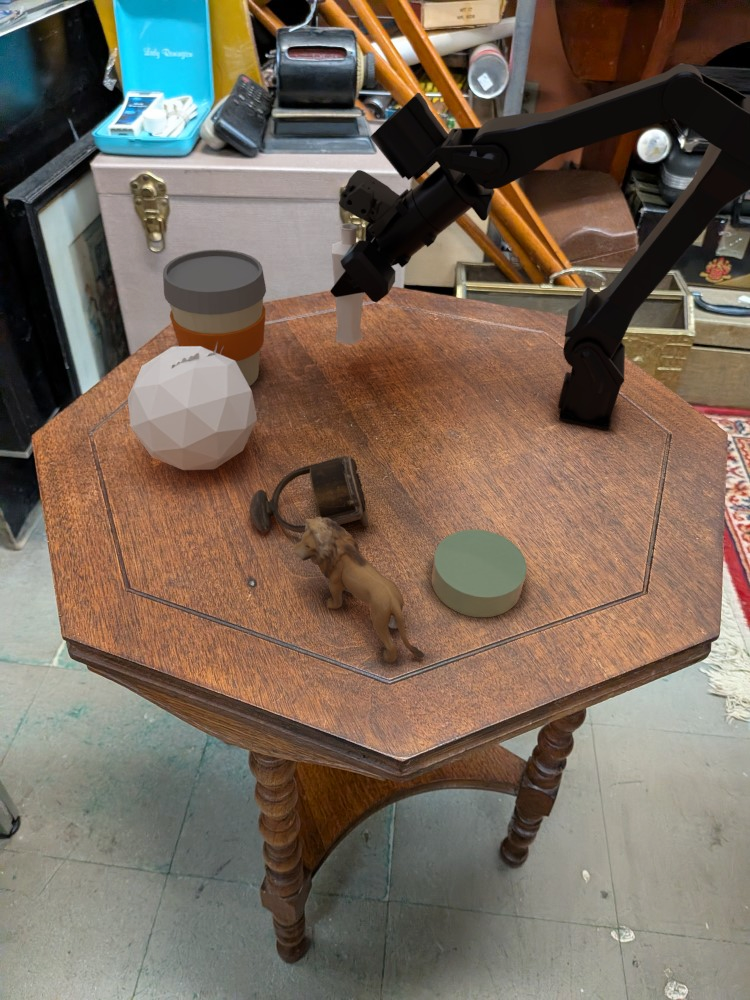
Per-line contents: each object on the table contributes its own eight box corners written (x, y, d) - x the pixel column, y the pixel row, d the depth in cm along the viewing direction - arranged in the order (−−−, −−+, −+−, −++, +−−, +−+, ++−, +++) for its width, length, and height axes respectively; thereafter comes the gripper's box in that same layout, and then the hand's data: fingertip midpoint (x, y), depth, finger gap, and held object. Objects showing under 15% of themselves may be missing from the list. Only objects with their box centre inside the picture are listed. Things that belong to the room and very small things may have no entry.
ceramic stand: (527, 561, 75) (532, 541, 73) (513, 627, 68) (519, 607, 66) (442, 541, 76) (445, 520, 74) (421, 603, 70) (424, 583, 68)
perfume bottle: (369, 332, 98) (372, 221, 88) (359, 347, 95) (361, 235, 85) (338, 326, 99) (337, 216, 89) (327, 341, 96) (324, 229, 86)
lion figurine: (288, 593, 70) (283, 526, 64) (325, 563, 73) (324, 497, 67) (406, 678, 64) (413, 613, 58) (441, 641, 67) (452, 576, 61)
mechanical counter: (363, 524, 70) (385, 447, 76) (236, 494, 71) (268, 419, 77) (358, 561, 76) (379, 487, 82) (241, 533, 77) (270, 461, 82)
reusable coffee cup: (163, 367, 100) (143, 262, 90) (243, 342, 105) (234, 241, 95) (204, 411, 92) (188, 302, 82) (289, 381, 98) (283, 276, 88)
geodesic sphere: (204, 353, 91) (140, 297, 78) (299, 386, 86) (249, 332, 73) (152, 461, 89) (77, 421, 76) (247, 500, 85) (185, 466, 71)
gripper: (402, 129, 88) (318, 210, 97) (359, 178, 74) (266, 266, 83) (460, 203, 91) (373, 274, 101) (429, 262, 78) (332, 338, 87)
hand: (338, 285), depth 93 cm, fingers closed on perfume bottle, 4 cm apart
